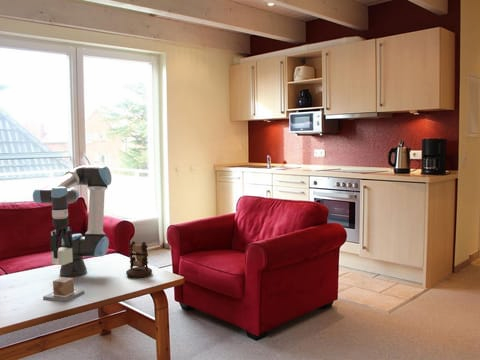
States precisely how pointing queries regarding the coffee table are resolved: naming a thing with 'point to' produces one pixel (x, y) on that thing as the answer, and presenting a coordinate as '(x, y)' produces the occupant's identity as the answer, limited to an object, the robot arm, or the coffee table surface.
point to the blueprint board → (63, 298)
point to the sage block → (64, 256)
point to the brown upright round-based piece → (138, 260)
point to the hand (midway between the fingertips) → (62, 262)
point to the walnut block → (63, 286)
